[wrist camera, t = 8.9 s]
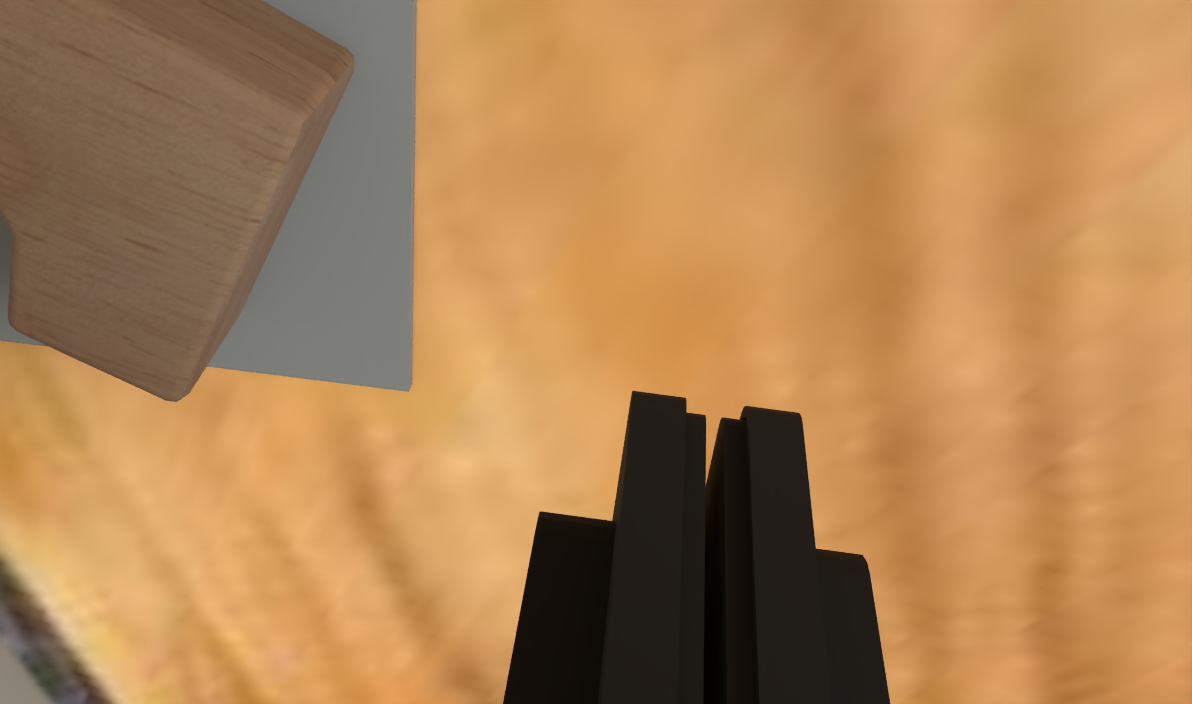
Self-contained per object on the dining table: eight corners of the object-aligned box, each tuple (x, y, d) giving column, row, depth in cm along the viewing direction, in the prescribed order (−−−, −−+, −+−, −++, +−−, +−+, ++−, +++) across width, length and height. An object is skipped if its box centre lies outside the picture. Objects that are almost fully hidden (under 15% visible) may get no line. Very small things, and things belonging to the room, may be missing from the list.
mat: (422, -452, 21) (417, -454, 20) (412, 383, 32) (409, 391, 32) (-354, -552, 21) (-371, -555, 20) (-91, 320, 32) (-99, 328, 32)
